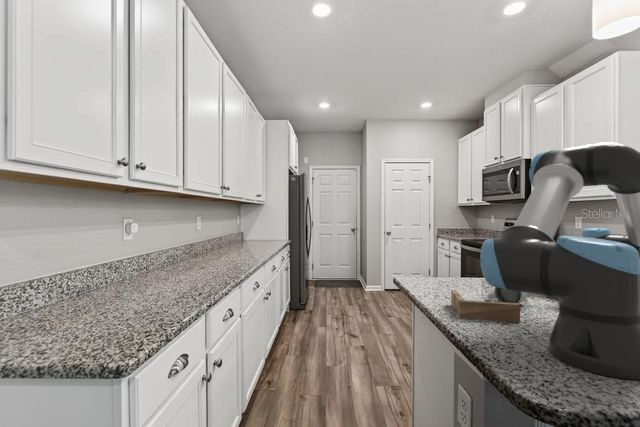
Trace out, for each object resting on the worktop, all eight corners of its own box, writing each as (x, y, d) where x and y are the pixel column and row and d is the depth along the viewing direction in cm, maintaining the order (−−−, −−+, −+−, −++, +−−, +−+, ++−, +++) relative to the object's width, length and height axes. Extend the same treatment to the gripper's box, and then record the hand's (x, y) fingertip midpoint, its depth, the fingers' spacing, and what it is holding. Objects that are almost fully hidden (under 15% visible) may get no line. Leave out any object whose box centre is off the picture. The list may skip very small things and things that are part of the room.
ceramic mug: (529, 304, 94) (529, 279, 94) (521, 309, 89) (522, 283, 89) (492, 297, 102) (492, 274, 102) (483, 301, 96) (483, 277, 97)
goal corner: (522, 322, 78) (522, 304, 78) (460, 318, 82) (460, 301, 82) (500, 304, 94) (500, 290, 95) (449, 301, 98) (449, 287, 98)
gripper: (621, 294, 92) (571, 300, 86) (540, 278, 116) (497, 282, 110) (620, 269, 92) (570, 274, 86) (540, 258, 116) (496, 261, 110)
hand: (529, 278), depth 98 cm, fingers open, 13 cm apart
